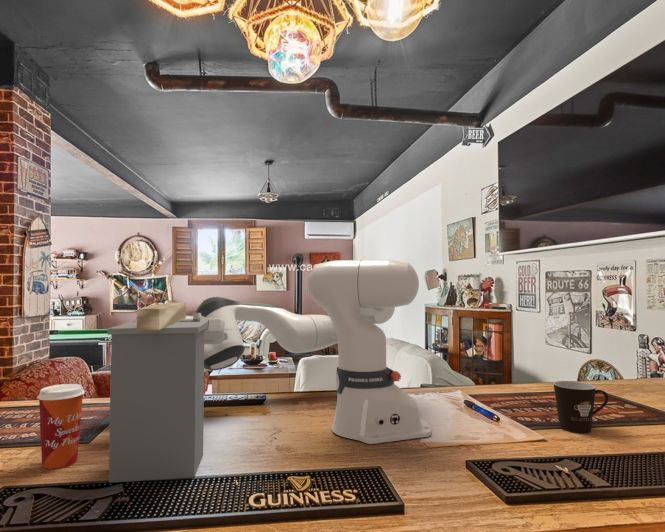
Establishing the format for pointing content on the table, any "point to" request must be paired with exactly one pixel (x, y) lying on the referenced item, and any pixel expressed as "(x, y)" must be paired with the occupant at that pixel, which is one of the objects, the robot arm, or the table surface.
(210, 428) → the table surface
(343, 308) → the robot arm
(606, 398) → the coffee mug
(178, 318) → the tan wooden bar
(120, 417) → the tall grey block
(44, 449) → the paper cup
